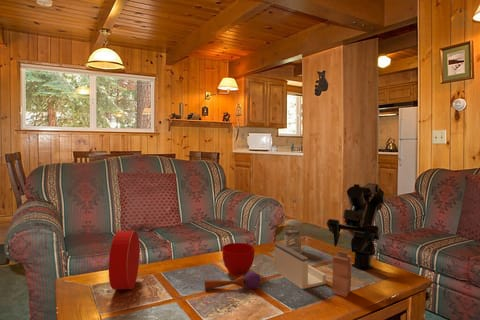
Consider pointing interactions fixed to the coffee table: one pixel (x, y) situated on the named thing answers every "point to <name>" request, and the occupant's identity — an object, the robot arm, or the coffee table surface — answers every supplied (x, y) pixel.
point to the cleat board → (296, 268)
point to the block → (341, 273)
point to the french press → (293, 231)
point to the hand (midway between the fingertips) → (347, 248)
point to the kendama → (236, 282)
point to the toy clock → (124, 260)
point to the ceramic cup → (238, 257)
